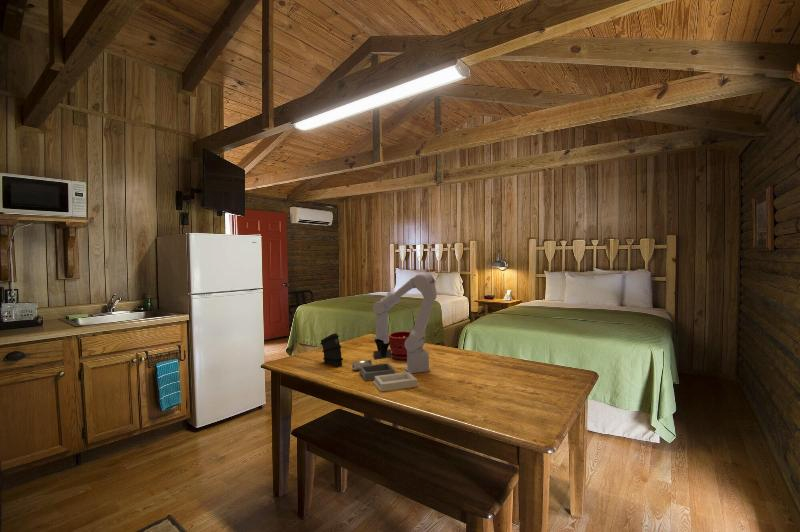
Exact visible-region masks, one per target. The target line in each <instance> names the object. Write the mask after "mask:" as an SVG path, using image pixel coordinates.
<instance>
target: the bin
mask: <svg viewBox="0 0 800 532" xmlns="http://www.w3.org/2000/svg"><path fill="white" fill-rule="evenodd" d="M388 374H396V372H395V369H394V368H393V367H392V366H391V365H390V364H389V363H379V364H372V365H369V366H361V367H360V370H359V375H360V376H361V375H362V376H361V378H362V379H363V380H364V381H365V380H367V381H374V376H380V375H388Z"/></svg>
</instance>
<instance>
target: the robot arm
mask: <svg viewBox="0 0 800 532" xmlns="http://www.w3.org/2000/svg"><path fill="white" fill-rule="evenodd" d="M412 289H416V290H418V291H419V292H420V293H421V295H422V297H423V299H422V302H421V304H420V308H419V309H418V310H419V311H418V313H417V317H416V320H415V322H414V326H413V329H412V330H411V331H410V332H411V333H410V335H409V337H408V339H407V340H406V341H405V348H406V350H407V359H406V365H407V366H405V367H404V370H406V372H409V373H410V374H416V373H425V372H430V355H429V351H428V350H427V349H424V348H423V347H424V346H425V345H426V333H425V332H426V328H427V326H428V322H429V319H430V318H431V317H430V316H431V314H432V311H433V308H434V306H435V302H436V298H437V289H436V280H435V278H434V277H433V275H432V274H431V273H429V272H425V273H422V274H416V275H415V276H414V277H411V278H410V279H409V280H408V281H406V282H405V283H404V284H402V286H400V287H399V288H398V289H397V290H396V291H388V292H387V294H386V295H385V296H384V297H381V298H380V300H379V301H375V302H374V304H373V306H372V311H373V312H374V317H375V335H374V336H373V339H374V340H373V341H374V343H375V345H376V348H377V351H379V350H380V352H381V357H386V354H387V350H388V349H389V347H390V345H389V344H390V342H389V325H388V324H389V323H388V321H389V319H388V314H389V313H388V312H389V311H390V309H392V308H393V306H395V305H396V304H398V303H399V302H400V301H401V300H400V299H401V297H403V296H404V295H406V293H409V292H410V291H411V290H412Z"/></svg>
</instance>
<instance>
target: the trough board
mask: <svg viewBox="0 0 800 532" xmlns="http://www.w3.org/2000/svg"><path fill="white" fill-rule="evenodd" d="M372 383H373V385H374V387H376V389H377V390H378V392H387V391H394V390H401V389H409V388H415V387H419V383H418V378H417V377H415V376H414V375H413V373H409V372H408V371H403V372H398V373H397V372H395V374H388V375H380V376H374V380H372Z"/></svg>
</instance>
